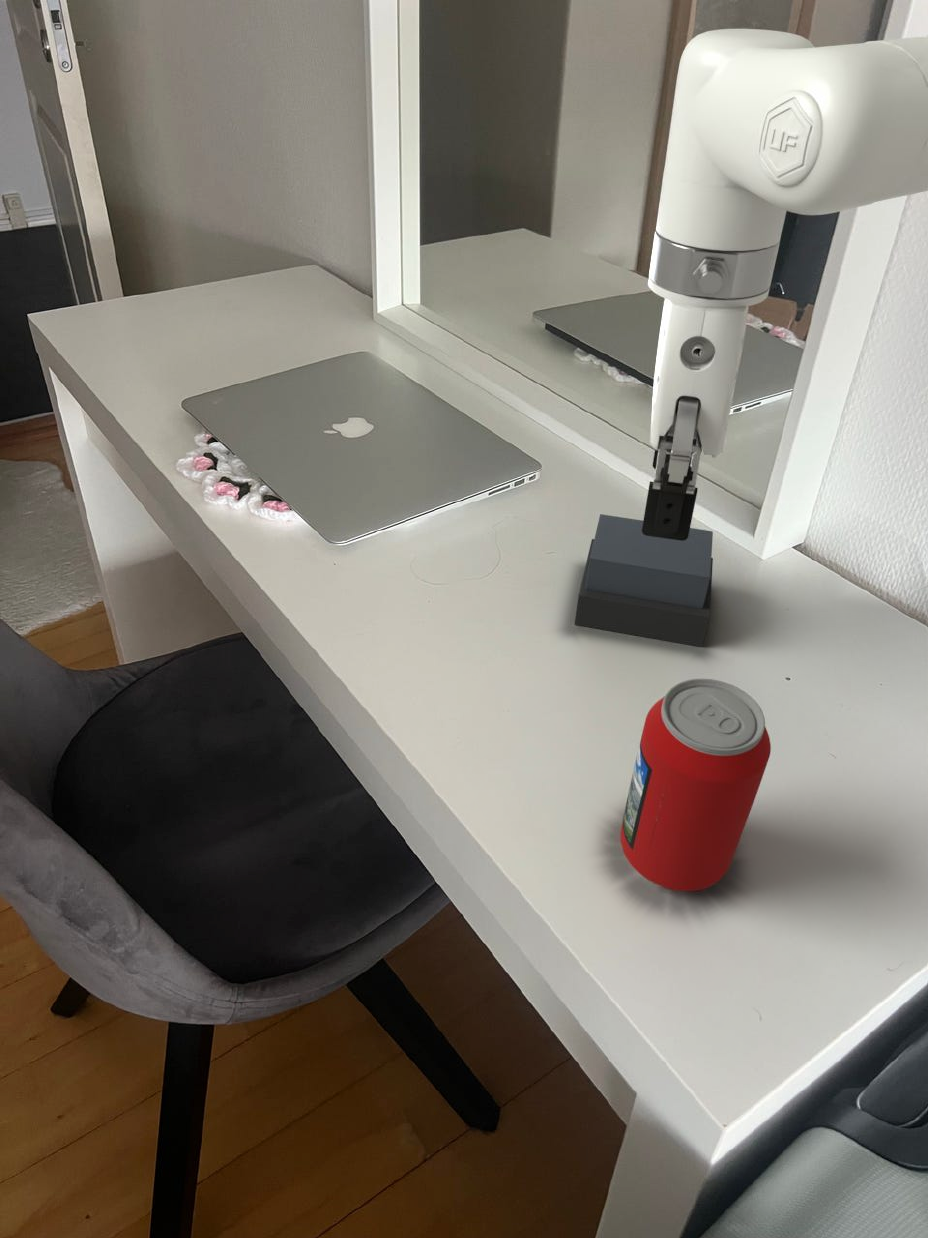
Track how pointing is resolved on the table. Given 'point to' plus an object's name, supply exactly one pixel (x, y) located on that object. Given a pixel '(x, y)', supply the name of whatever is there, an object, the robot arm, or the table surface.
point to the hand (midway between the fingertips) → (668, 501)
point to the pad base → (642, 614)
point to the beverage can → (694, 783)
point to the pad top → (649, 563)
